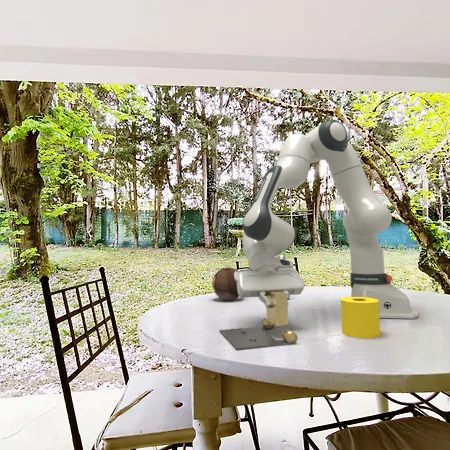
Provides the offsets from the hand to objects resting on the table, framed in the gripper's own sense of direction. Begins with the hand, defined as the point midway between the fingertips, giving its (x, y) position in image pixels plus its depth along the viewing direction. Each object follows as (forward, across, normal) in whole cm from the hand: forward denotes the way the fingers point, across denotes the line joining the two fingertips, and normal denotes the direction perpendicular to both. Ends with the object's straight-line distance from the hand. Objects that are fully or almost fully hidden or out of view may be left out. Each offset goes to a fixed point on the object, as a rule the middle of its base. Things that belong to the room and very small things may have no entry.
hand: (277, 306), depth 94 cm
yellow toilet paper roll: (+10, +23, +2) cm, 25 cm away
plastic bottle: (-32, +26, +44) cm, 60 cm away
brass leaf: (+3, 0, +4) cm, 5 cm away
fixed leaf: (+5, -6, +6) cm, 10 cm away
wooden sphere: (-38, +2, +50) cm, 62 cm away
